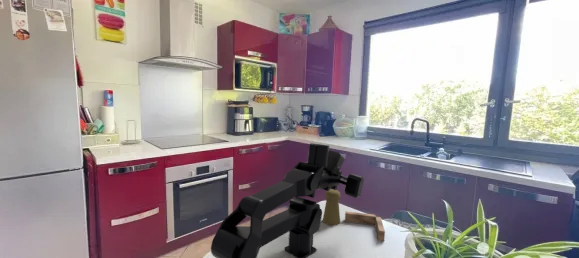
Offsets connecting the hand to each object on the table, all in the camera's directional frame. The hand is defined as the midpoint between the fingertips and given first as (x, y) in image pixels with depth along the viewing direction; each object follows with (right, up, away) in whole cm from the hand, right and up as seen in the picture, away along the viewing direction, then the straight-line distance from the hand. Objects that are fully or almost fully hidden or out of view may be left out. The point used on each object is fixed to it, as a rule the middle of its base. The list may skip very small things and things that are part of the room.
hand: (346, 177), depth 89 cm
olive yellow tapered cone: (-5, -16, +1) cm, 17 cm away
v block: (+7, -16, -2) cm, 18 cm away
